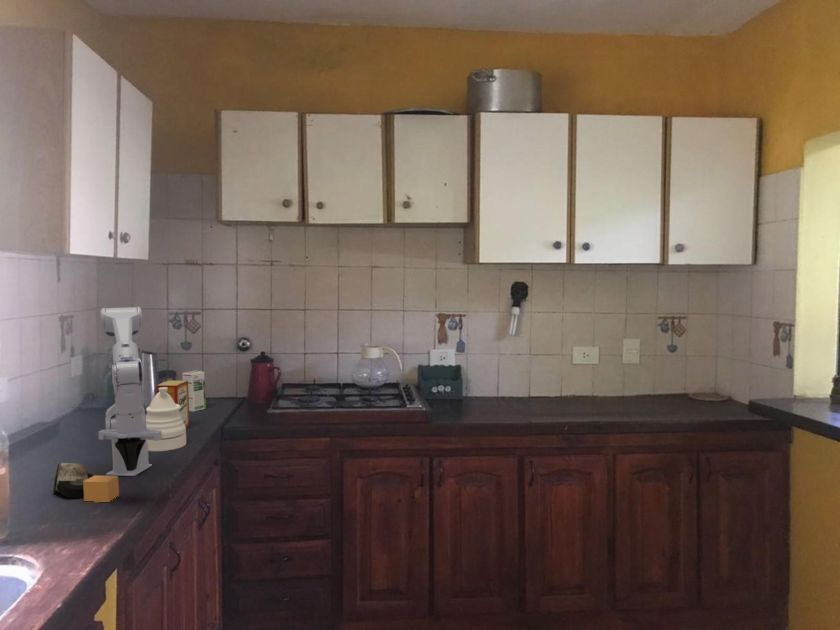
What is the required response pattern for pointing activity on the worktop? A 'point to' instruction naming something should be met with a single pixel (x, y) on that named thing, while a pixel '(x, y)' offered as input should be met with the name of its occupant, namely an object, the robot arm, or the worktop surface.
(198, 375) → the syrup box
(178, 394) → the baking soda box
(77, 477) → the caster wheel
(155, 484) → the worktop surface
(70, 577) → the worktop surface
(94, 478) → the block
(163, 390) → the honey pot
